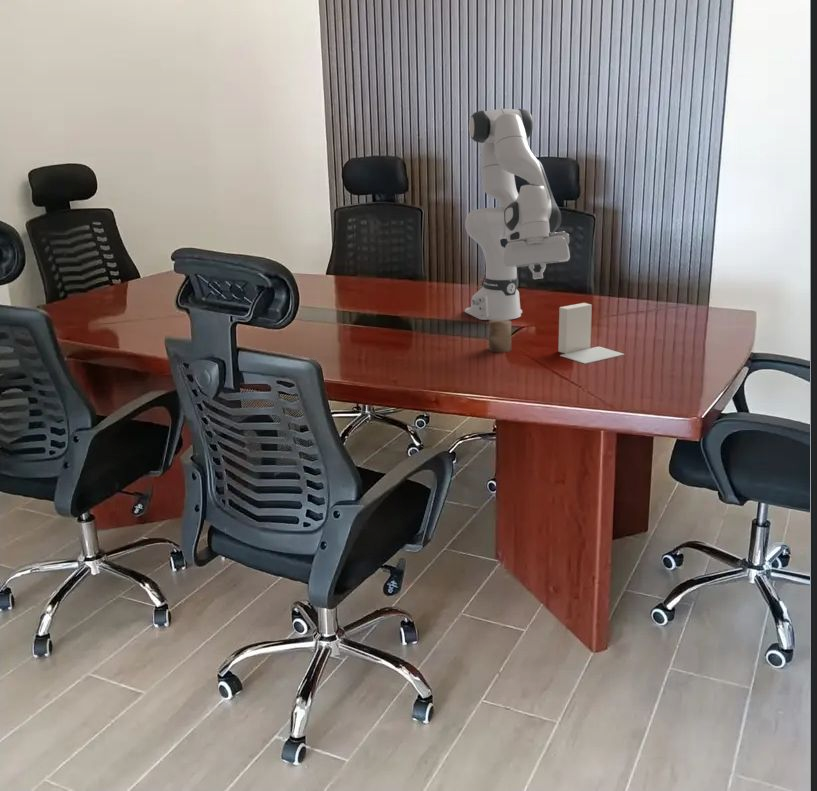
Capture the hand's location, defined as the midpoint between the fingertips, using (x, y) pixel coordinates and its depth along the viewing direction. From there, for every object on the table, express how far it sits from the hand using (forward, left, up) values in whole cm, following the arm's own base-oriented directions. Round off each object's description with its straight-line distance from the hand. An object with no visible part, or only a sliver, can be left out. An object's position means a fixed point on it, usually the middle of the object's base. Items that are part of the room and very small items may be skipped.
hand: (538, 278), depth 273 cm
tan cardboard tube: (-4, -12, -22) cm, 25 cm away
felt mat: (+19, +6, -22) cm, 29 cm away
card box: (+11, +6, -22) cm, 25 cm away
